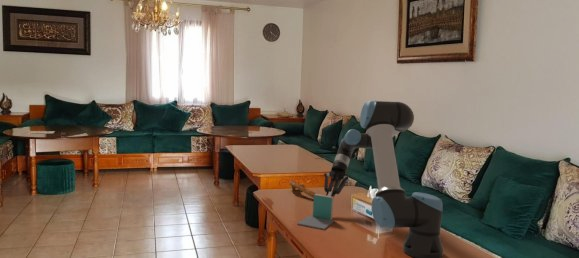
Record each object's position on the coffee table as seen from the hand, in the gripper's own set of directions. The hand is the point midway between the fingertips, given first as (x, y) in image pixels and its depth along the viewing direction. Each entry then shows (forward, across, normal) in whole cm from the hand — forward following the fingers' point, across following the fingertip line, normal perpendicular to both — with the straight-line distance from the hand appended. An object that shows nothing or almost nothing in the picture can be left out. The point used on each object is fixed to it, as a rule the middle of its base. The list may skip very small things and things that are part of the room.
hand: (327, 204), depth 226 cm
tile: (+8, 0, 0) cm, 8 cm away
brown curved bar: (-15, +22, -23) cm, 35 cm away
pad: (+14, 0, +6) cm, 15 cm away
